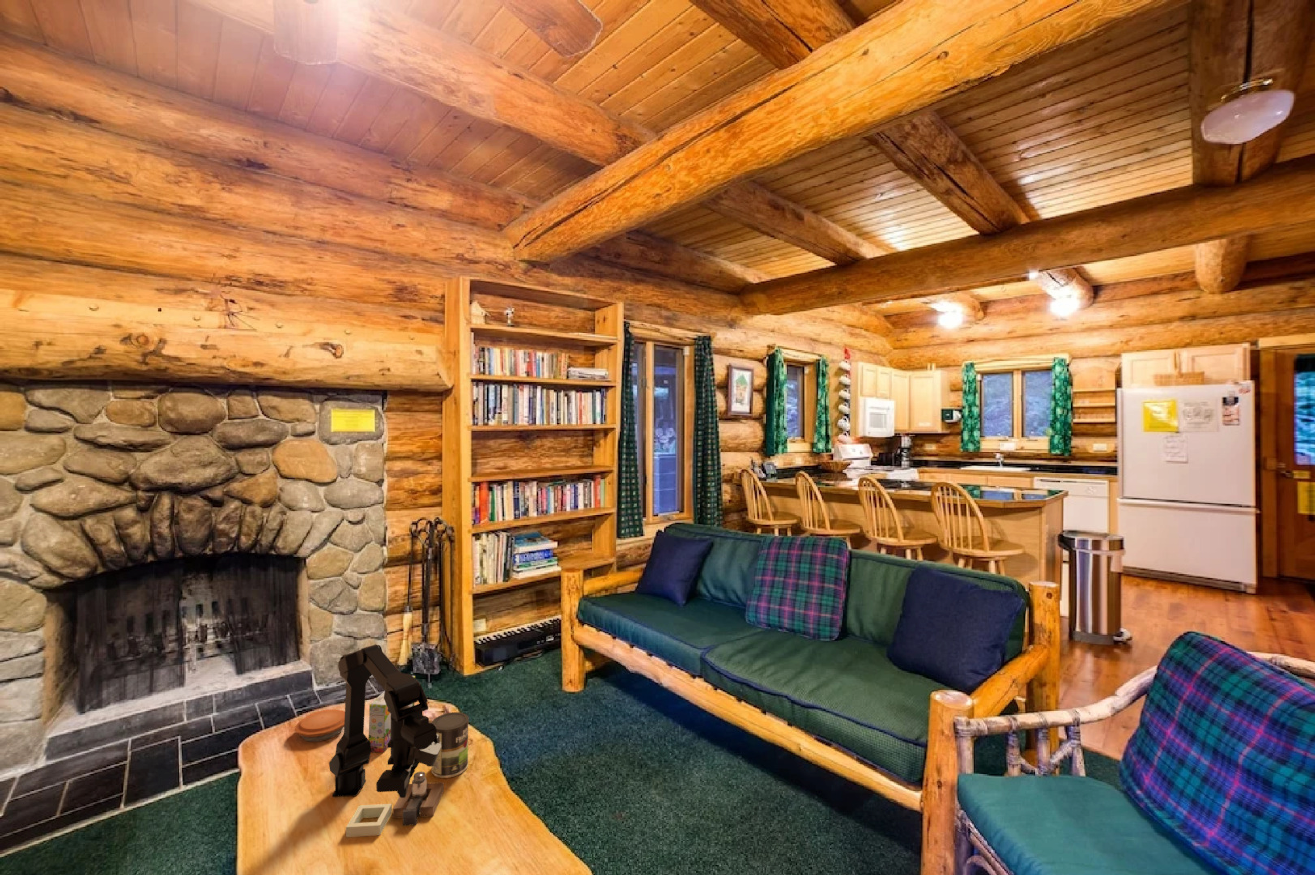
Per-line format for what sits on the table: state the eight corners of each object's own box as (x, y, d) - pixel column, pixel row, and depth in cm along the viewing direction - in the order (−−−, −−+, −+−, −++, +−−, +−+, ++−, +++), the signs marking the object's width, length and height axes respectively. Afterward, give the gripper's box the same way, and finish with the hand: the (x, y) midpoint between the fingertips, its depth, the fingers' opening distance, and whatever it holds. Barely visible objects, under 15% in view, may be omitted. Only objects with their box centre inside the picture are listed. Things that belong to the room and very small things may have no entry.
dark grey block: (402, 825, 144) (402, 812, 144) (409, 812, 149) (409, 799, 149) (415, 825, 144) (416, 811, 144) (421, 811, 149) (422, 798, 149)
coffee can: (474, 760, 173) (475, 714, 172) (456, 780, 162) (456, 731, 162) (444, 755, 175) (444, 710, 174) (423, 775, 165) (424, 727, 164)
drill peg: (409, 809, 150) (410, 779, 150) (414, 800, 154) (414, 771, 154) (424, 808, 151) (424, 778, 150) (428, 799, 154) (428, 770, 154)
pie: (354, 717, 196) (354, 703, 196) (342, 742, 181) (342, 726, 181) (303, 723, 192) (303, 708, 192) (287, 749, 177) (287, 733, 177)
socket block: (392, 818, 147) (393, 808, 147) (405, 793, 157) (405, 784, 157) (433, 816, 148) (433, 806, 148) (443, 791, 158) (443, 782, 158)
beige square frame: (345, 837, 140) (346, 827, 140) (359, 815, 148) (359, 805, 148) (380, 835, 141) (380, 825, 141) (391, 813, 149) (391, 803, 149)
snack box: (385, 753, 175) (385, 705, 175) (367, 753, 175) (367, 704, 175) (415, 718, 197) (415, 674, 196) (399, 717, 197) (399, 674, 196)
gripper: (426, 754, 130) (426, 821, 130) (447, 713, 149) (447, 772, 149) (375, 756, 129) (375, 824, 129) (403, 714, 148) (403, 774, 148)
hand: (403, 797), depth 139 cm, fingers closed
